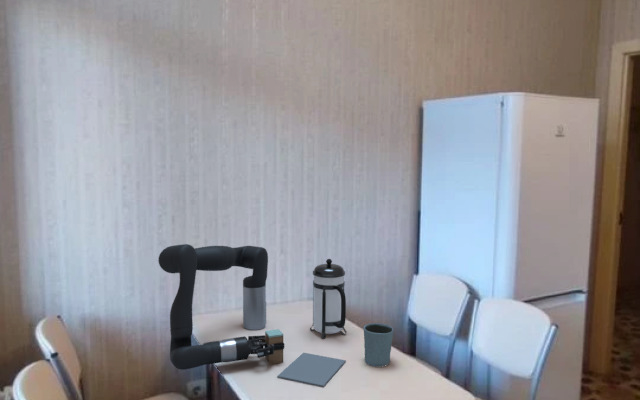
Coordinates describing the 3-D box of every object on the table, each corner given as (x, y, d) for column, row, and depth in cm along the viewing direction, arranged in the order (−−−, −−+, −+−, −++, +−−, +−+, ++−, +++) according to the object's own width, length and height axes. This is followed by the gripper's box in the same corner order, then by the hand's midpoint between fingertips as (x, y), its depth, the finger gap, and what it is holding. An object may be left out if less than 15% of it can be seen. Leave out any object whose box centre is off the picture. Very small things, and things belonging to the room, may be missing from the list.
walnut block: (265, 358, 173) (265, 331, 172) (278, 356, 175) (278, 329, 174) (269, 364, 168) (269, 336, 167) (283, 362, 170) (283, 334, 169)
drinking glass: (357, 358, 174) (358, 325, 173) (383, 353, 178) (383, 321, 177) (372, 370, 165) (372, 335, 164) (398, 365, 169) (399, 331, 168)
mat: (303, 354, 177) (303, 352, 177) (345, 362, 171) (345, 360, 171) (277, 377, 159) (277, 375, 159) (323, 387, 153) (323, 385, 152)
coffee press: (302, 337, 193) (302, 261, 190) (317, 323, 208) (318, 253, 205) (344, 344, 186) (345, 266, 183) (357, 330, 201) (358, 257, 198)
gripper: (237, 346, 158) (288, 339, 165) (228, 331, 172) (275, 325, 178) (237, 369, 159) (288, 361, 166) (228, 352, 172) (275, 345, 179)
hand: (281, 342), depth 172 cm, fingers closed on walnut block, 5 cm apart
